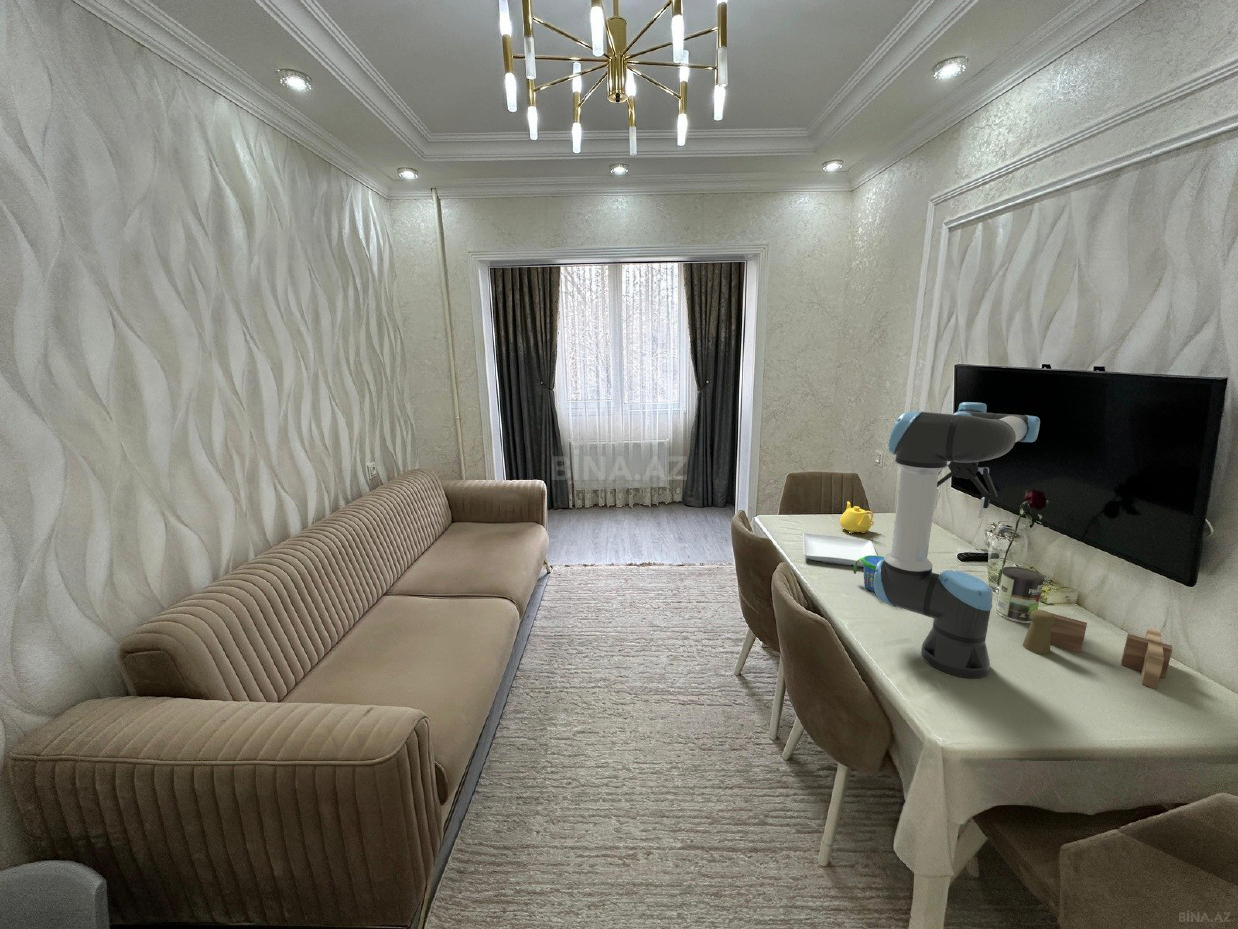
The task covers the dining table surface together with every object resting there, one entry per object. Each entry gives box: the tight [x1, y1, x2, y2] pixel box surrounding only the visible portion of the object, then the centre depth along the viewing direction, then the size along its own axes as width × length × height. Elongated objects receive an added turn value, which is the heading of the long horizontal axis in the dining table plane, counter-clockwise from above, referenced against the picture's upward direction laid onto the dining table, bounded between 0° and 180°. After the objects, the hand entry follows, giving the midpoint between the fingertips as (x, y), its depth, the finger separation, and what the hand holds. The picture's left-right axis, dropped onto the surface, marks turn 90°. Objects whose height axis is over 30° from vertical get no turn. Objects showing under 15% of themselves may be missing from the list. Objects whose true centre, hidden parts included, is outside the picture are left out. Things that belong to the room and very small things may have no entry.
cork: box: [1022, 609, 1055, 656], centre depth 142 cm, size 6×6×11 cm
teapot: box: [839, 501, 875, 534], centre depth 235 cm, size 20×15×12 cm
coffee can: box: [995, 566, 1045, 624], centre depth 160 cm, size 10×10×14 cm
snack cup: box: [852, 555, 885, 592], centre depth 177 cm, size 16×10×10 cm
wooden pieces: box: [1050, 612, 1173, 690], centre depth 138 cm, size 18×24×8 cm
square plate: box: [802, 532, 878, 568], centre depth 208 cm, size 27×27×4 cm
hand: (956, 512), depth 173 cm, fingers open, 13 cm apart
